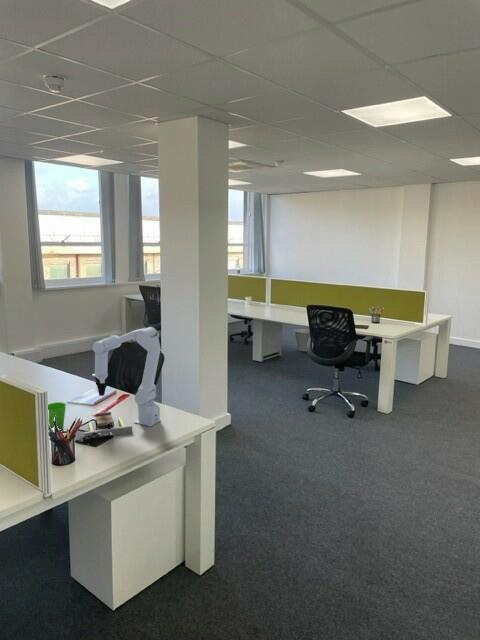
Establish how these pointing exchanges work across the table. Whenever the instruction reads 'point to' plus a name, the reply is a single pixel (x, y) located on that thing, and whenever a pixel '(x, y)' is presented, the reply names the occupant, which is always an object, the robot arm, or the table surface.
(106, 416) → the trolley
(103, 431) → the bay
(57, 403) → the cup
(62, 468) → the table surface
